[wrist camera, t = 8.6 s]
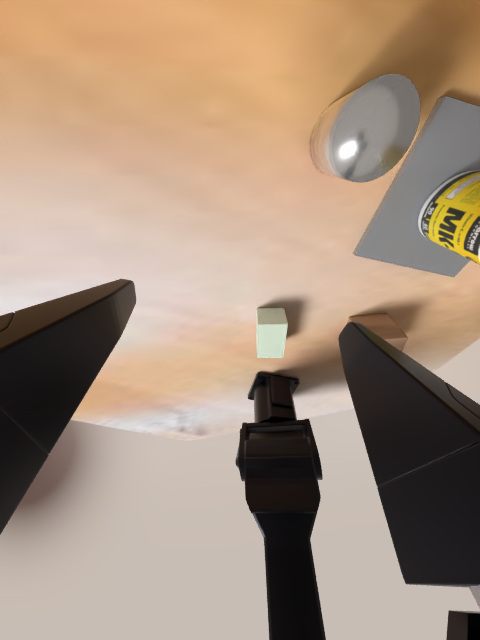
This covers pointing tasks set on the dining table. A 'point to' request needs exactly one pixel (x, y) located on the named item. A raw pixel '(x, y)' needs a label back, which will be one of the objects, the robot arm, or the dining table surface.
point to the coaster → (425, 190)
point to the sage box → (271, 332)
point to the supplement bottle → (454, 215)
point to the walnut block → (383, 328)
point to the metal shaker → (366, 129)
